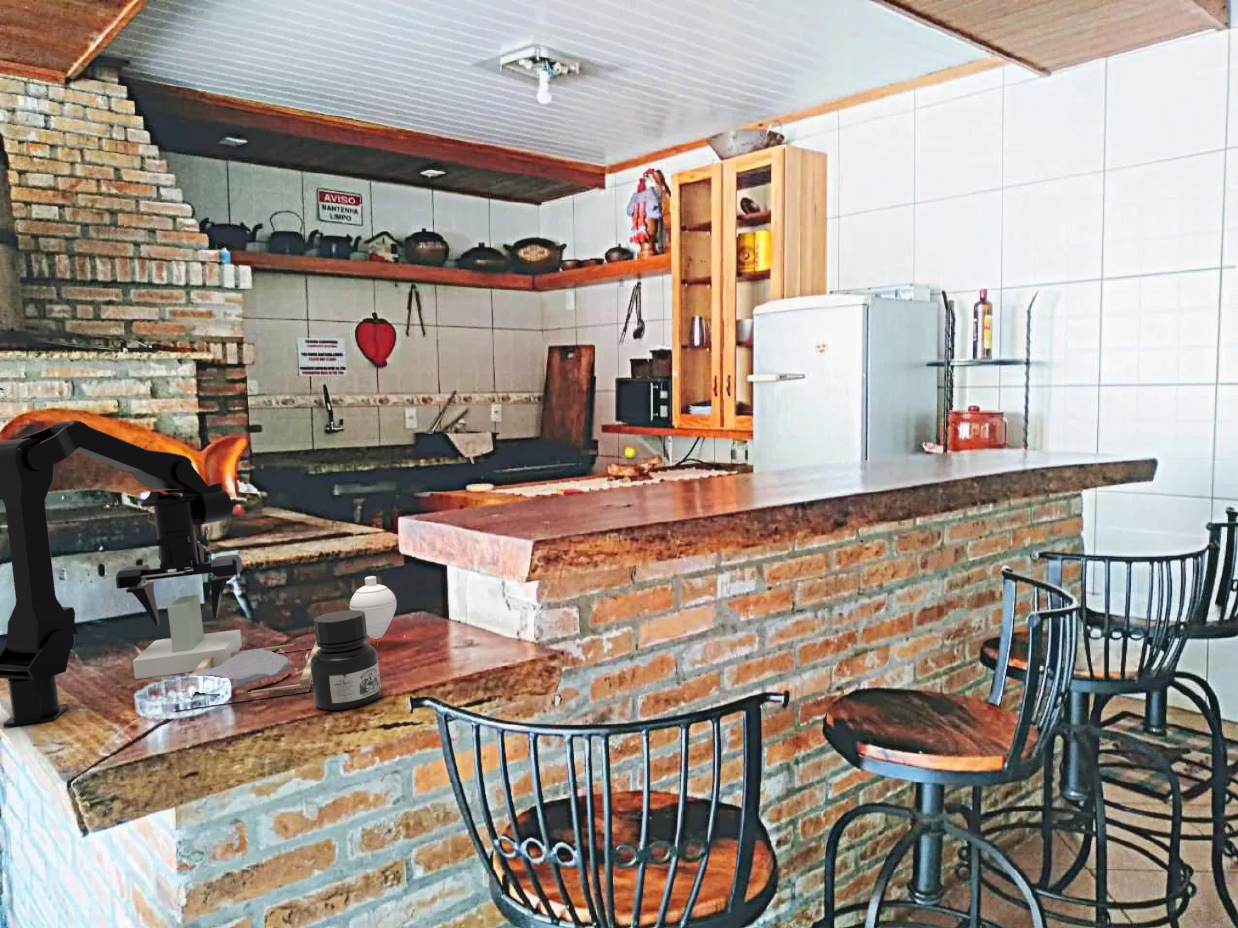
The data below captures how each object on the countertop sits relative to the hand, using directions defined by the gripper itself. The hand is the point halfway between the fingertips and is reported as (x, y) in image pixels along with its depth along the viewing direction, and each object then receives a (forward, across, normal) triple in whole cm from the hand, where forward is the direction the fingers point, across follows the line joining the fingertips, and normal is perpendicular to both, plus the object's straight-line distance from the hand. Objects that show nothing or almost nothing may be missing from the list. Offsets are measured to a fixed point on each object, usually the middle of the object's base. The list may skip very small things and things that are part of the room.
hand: (186, 621), depth 159 cm
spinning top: (+7, -31, +7) cm, 33 cm away
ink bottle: (+7, -28, +36) cm, 46 cm away
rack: (+7, -13, +16) cm, 21 cm away
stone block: (+8, -12, +19) cm, 24 cm away
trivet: (+7, 0, 0) cm, 7 cm away
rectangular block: (+4, 0, 0) cm, 4 cm away
